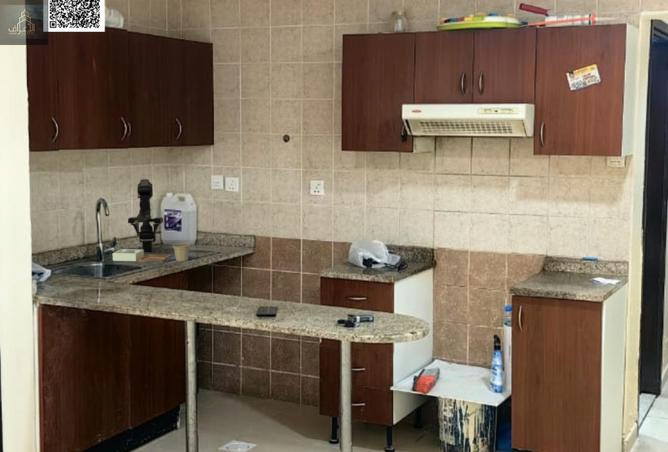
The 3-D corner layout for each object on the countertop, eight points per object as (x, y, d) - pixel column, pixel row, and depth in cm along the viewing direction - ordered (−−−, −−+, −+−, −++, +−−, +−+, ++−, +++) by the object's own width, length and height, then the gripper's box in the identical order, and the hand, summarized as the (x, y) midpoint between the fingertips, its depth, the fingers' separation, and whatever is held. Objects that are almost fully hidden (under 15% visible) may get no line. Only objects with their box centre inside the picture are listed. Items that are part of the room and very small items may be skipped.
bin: (121, 257, 547) (121, 249, 547) (143, 257, 546) (143, 249, 545) (112, 261, 535) (112, 253, 534) (135, 262, 533) (135, 253, 532)
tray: (147, 256, 548) (147, 254, 548) (171, 257, 546) (171, 254, 546) (137, 262, 532) (136, 259, 532) (162, 262, 530) (162, 260, 529)
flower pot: (170, 262, 532) (169, 246, 530) (177, 259, 541) (177, 243, 539) (186, 262, 529) (185, 246, 528) (193, 259, 538) (193, 244, 537)
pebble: (125, 258, 541) (125, 251, 540) (127, 257, 545) (127, 250, 544) (132, 258, 540) (132, 251, 540) (134, 257, 544) (134, 250, 544)
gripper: (123, 209, 537) (125, 237, 540) (156, 209, 535) (157, 238, 537) (130, 206, 548) (132, 234, 551) (163, 207, 546) (164, 235, 548)
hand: (146, 235), depth 546 cm, fingers open, 9 cm apart
